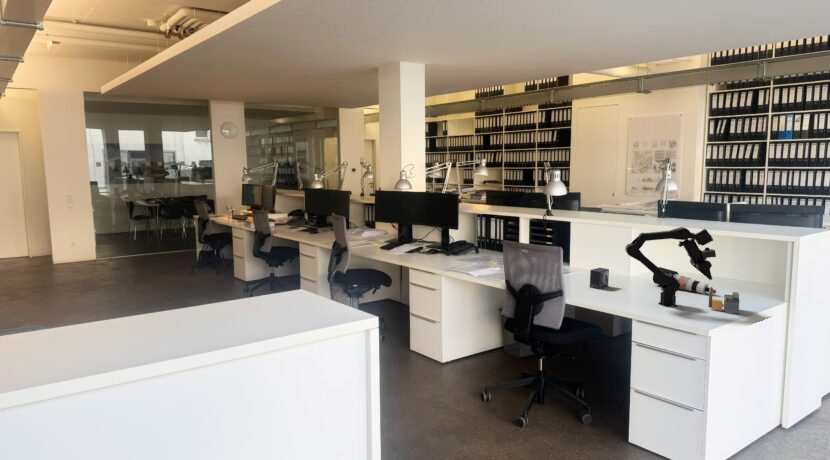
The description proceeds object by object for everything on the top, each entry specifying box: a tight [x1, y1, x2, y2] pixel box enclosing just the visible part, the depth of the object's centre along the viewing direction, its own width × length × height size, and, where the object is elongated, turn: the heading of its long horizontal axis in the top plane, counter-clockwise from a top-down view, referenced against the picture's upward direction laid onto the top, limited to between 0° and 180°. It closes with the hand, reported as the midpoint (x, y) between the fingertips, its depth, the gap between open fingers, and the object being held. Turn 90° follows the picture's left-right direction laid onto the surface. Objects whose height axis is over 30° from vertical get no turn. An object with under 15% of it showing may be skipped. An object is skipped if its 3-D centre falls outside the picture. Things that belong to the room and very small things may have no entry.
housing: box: [723, 291, 740, 315], centre depth 271 cm, size 6×10×9 cm, turn 154°
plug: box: [708, 286, 724, 311], centre depth 274 cm, size 6×4×11 cm
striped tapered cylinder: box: [652, 266, 717, 295], centre depth 315 cm, size 10×34×10 cm, turn 36°
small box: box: [589, 267, 610, 290], centre depth 325 cm, size 11×6×10 cm, turn 131°
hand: (708, 277), depth 278 cm, fingers open, 9 cm apart
